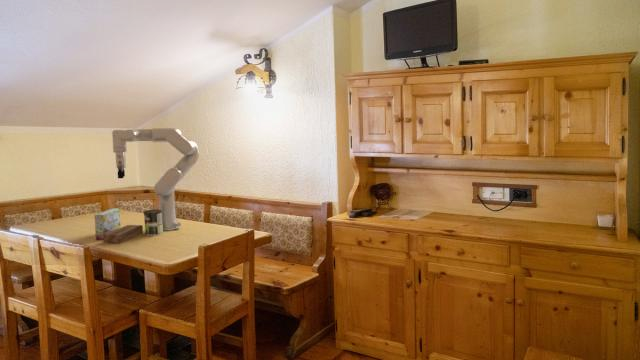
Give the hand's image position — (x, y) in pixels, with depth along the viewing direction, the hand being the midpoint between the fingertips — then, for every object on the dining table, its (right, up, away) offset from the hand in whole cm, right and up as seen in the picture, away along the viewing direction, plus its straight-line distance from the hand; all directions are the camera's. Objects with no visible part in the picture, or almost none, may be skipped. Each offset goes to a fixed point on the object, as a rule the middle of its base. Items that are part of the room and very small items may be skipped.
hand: (121, 177), depth 283 cm
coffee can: (+23, -35, -7) cm, 42 cm away
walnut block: (+9, -36, -16) cm, 40 cm away
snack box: (-3, -36, -9) cm, 37 cm away
